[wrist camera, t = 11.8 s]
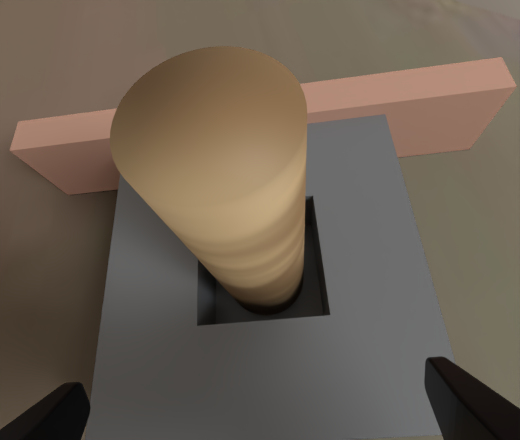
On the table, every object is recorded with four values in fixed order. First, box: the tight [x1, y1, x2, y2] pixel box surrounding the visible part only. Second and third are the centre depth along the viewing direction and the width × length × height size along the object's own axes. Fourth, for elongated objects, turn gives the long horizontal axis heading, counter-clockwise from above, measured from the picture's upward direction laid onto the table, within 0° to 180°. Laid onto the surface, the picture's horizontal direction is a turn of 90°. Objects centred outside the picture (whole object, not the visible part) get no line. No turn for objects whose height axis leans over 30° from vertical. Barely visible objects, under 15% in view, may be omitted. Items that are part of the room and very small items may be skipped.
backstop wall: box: [10, 57, 517, 195], centre depth 20 cm, size 2×26×5 cm, turn 94°
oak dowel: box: [110, 46, 307, 315], centre depth 12 cm, size 4×4×12 cm
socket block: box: [85, 114, 456, 440], centre depth 17 cm, size 14×14×4 cm
